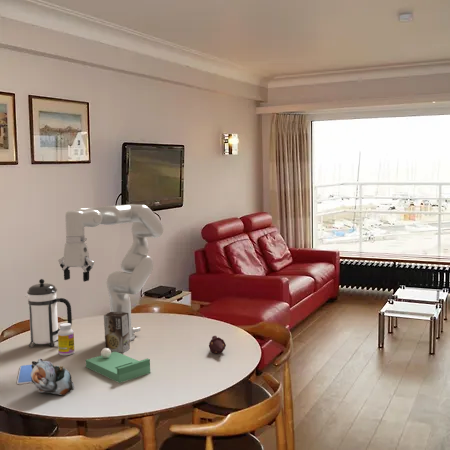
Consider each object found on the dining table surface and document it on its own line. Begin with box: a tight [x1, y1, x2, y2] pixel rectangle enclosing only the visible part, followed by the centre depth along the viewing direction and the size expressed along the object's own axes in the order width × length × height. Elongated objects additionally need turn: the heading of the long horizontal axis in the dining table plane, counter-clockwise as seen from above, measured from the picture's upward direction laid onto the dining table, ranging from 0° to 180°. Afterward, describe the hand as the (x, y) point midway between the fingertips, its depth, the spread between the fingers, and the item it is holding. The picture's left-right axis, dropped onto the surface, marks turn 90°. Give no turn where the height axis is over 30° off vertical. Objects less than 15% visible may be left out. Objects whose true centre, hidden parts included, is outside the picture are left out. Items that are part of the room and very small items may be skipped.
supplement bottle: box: [57, 322, 75, 356], centre depth 241 cm, size 7×7×13 cm
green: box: [85, 351, 151, 384], centre depth 221 cm, size 14×24×5 cm, turn 44°
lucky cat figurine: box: [31, 358, 75, 396], centre depth 200 cm, size 15×12×14 cm
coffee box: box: [103, 311, 131, 353], centre depth 245 cm, size 9×6×16 cm
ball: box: [100, 347, 112, 358], centre depth 227 cm, size 4×4×4 cm
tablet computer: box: [16, 363, 54, 385], centre depth 219 cm, size 19×13×1 cm, turn 16°
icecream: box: [208, 335, 227, 355], centre depth 239 cm, size 7×7×15 cm
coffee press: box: [25, 278, 73, 349], centre depth 255 cm, size 17×16×30 cm
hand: (76, 280), depth 238 cm, fingers open, 9 cm apart
